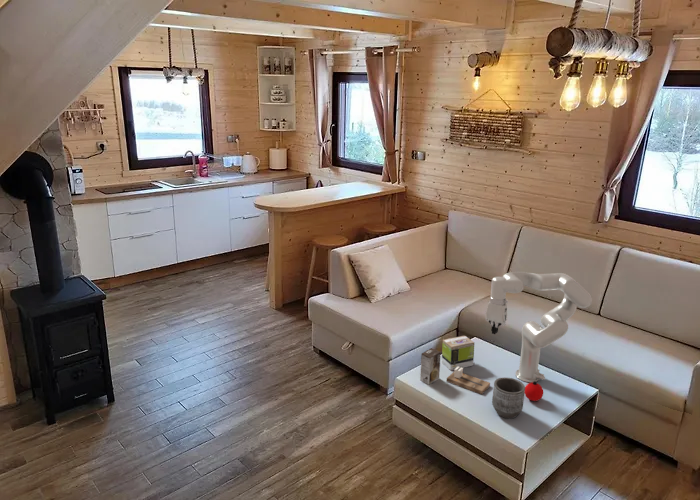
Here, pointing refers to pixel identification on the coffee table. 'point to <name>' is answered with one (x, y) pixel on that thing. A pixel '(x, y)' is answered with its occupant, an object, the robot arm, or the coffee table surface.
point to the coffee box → (430, 366)
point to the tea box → (457, 352)
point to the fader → (458, 372)
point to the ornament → (533, 391)
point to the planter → (508, 397)
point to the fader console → (469, 383)
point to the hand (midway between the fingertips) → (494, 333)
